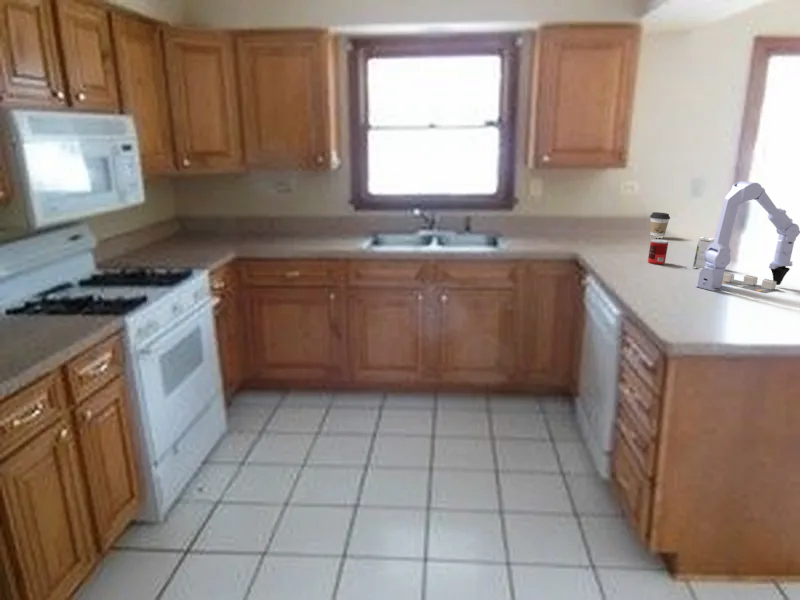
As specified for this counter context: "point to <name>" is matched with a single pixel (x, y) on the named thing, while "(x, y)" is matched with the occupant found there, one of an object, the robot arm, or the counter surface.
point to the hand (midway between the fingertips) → (776, 284)
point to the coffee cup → (659, 223)
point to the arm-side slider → (728, 277)
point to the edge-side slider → (768, 284)
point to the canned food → (657, 251)
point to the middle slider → (750, 280)
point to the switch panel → (749, 286)
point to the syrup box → (702, 251)
